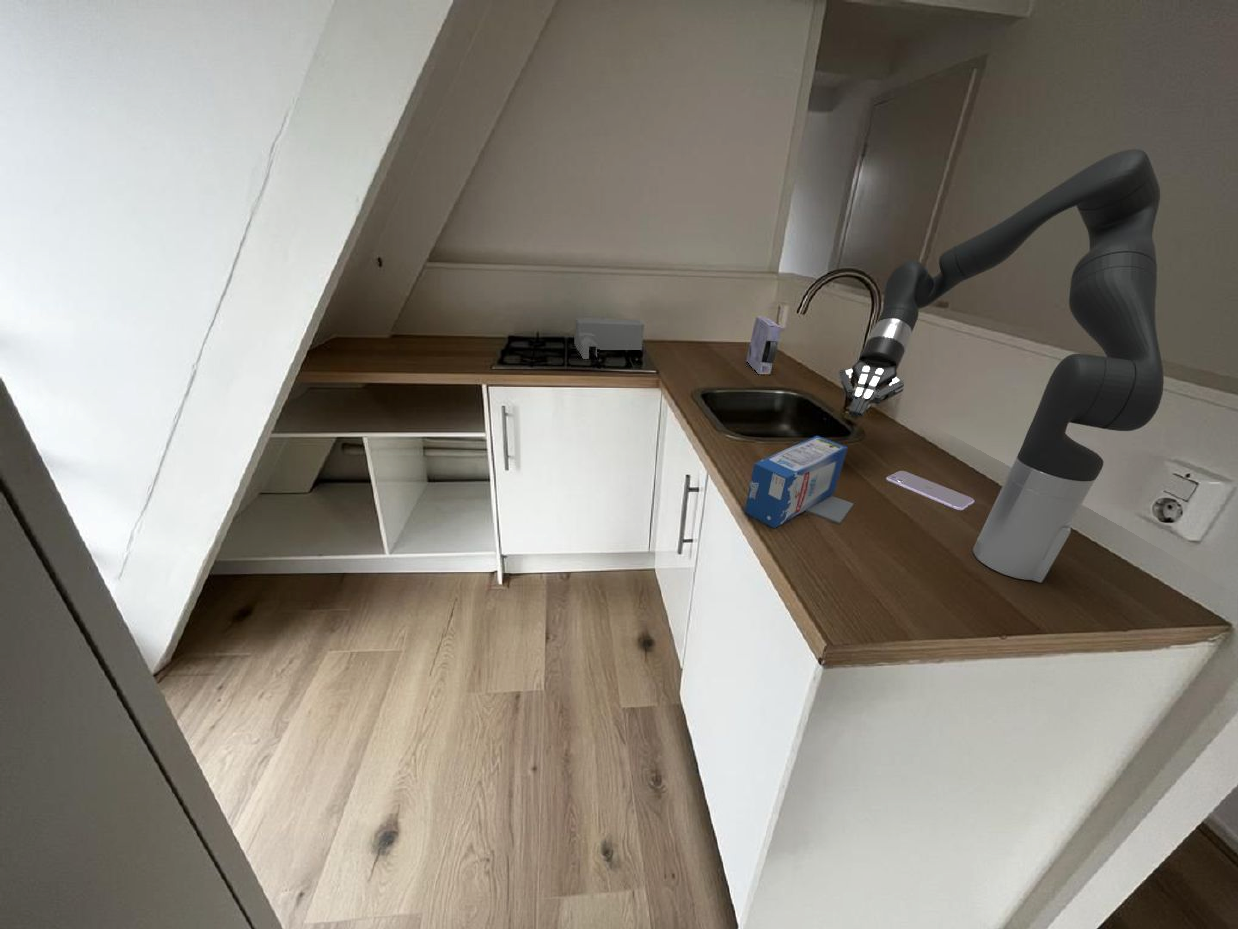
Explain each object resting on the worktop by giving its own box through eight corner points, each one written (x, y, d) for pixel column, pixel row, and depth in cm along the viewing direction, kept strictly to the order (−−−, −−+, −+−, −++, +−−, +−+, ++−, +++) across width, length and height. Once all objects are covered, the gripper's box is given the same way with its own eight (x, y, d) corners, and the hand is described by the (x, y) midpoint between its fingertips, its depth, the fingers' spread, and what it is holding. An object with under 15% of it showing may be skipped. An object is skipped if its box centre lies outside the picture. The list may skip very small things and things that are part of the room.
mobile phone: (961, 508, 93) (884, 476, 104) (959, 512, 94) (883, 480, 104) (977, 498, 98) (901, 468, 108) (975, 502, 98) (900, 472, 109)
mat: (853, 505, 92) (853, 503, 92) (839, 524, 86) (840, 522, 86) (791, 483, 99) (791, 481, 99) (774, 499, 92) (774, 497, 92)
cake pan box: (772, 377, 173) (783, 326, 165) (758, 376, 172) (768, 325, 165) (757, 363, 190) (767, 316, 182) (745, 362, 190) (754, 315, 182)
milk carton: (817, 435, 94) (754, 463, 82) (847, 446, 90) (786, 477, 78) (805, 480, 99) (744, 512, 87) (834, 493, 95) (774, 529, 83)
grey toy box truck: (581, 360, 175) (583, 329, 171) (574, 345, 196) (575, 317, 191) (649, 361, 180) (652, 331, 176) (635, 346, 201) (637, 319, 196)
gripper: (919, 363, 101) (889, 433, 98) (852, 352, 108) (822, 417, 105) (923, 340, 95) (891, 414, 92) (852, 330, 102) (820, 398, 99)
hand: (854, 416), depth 98 cm, fingers closed
